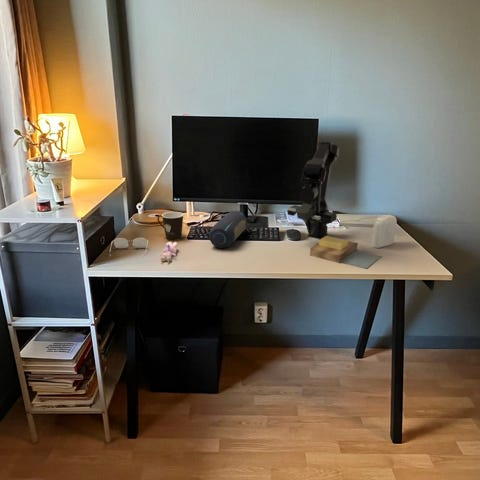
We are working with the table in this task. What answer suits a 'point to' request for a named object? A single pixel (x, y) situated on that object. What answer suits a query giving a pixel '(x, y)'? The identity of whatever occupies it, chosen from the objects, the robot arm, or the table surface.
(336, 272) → the table surface
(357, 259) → the mat
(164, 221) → the coffee mug
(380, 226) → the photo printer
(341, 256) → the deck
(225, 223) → the portable speaker
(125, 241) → the sunglasses
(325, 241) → the pale yellow foam brick
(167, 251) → the rabbit figure
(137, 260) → the table surface
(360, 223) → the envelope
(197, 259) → the table surface
